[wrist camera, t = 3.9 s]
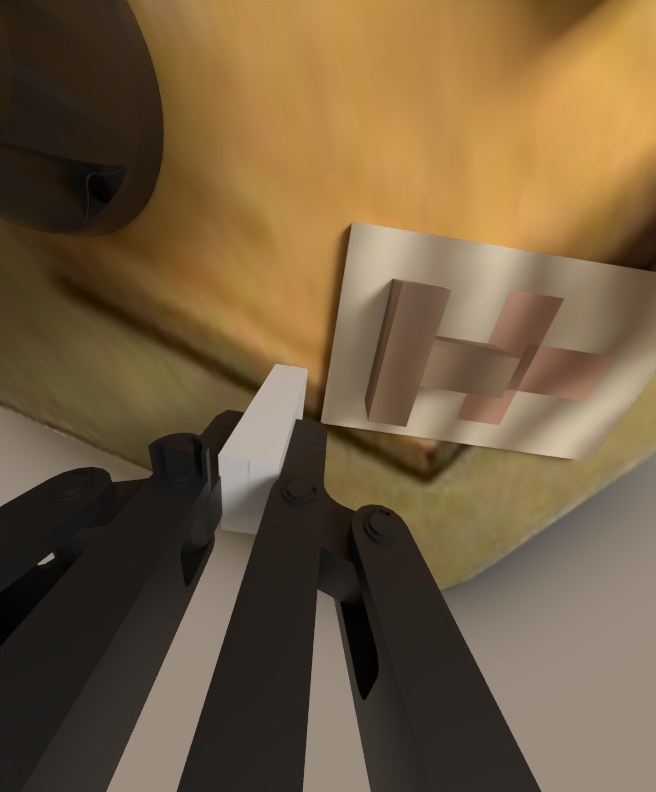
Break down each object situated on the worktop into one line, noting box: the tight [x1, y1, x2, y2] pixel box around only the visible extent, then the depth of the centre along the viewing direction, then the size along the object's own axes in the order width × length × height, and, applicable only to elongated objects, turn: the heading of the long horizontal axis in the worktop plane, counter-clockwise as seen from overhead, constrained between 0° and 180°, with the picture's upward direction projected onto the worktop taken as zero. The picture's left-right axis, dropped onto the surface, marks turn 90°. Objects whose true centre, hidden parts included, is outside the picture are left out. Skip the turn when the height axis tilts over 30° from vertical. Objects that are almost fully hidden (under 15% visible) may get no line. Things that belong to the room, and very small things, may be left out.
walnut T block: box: [364, 279, 521, 427], centre depth 20 cm, size 9×10×4 cm
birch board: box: [321, 222, 656, 462], centre depth 22 cm, size 26×16×1 cm, turn 82°
